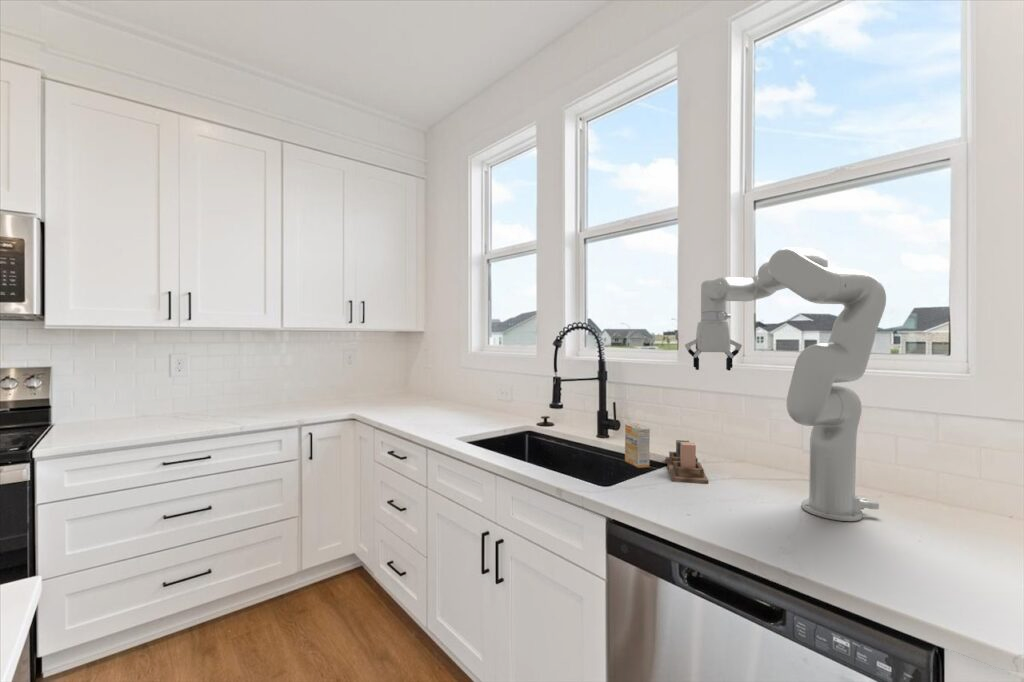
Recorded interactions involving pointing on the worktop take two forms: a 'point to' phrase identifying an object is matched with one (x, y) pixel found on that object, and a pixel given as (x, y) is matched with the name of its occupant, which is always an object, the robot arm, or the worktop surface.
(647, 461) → the supplement box
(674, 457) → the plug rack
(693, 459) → the terracotta plug
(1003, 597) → the worktop surface
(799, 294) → the robot arm
